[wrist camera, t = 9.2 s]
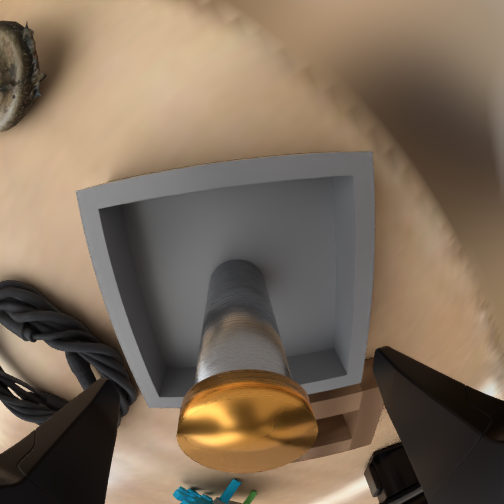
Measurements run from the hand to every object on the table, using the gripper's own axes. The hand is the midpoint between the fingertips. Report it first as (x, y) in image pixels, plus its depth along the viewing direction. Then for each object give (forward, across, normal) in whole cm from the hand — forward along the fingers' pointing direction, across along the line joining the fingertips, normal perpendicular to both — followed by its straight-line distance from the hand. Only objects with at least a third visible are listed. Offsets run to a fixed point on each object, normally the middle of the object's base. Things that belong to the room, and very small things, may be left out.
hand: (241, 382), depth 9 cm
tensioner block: (+8, -5, +12) cm, 16 cm away
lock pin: (+8, 0, 0) cm, 8 cm away
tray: (+8, 0, 0) cm, 8 cm away
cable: (+9, +17, +5) cm, 20 cm away
